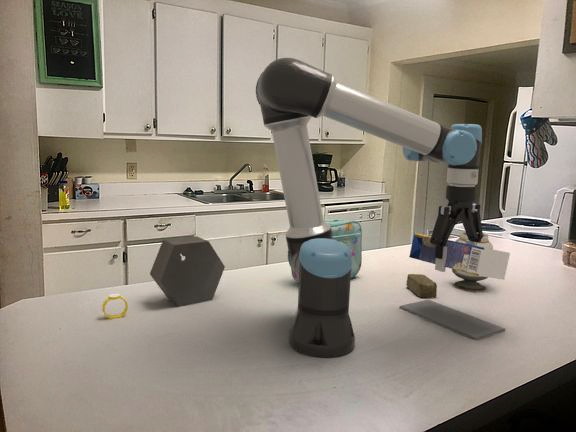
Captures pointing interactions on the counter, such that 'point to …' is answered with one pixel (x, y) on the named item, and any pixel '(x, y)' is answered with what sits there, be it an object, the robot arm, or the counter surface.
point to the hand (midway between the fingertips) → (454, 267)
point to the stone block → (421, 285)
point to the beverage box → (463, 257)
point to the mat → (453, 319)
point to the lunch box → (346, 241)
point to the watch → (113, 297)
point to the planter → (187, 270)
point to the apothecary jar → (469, 279)
